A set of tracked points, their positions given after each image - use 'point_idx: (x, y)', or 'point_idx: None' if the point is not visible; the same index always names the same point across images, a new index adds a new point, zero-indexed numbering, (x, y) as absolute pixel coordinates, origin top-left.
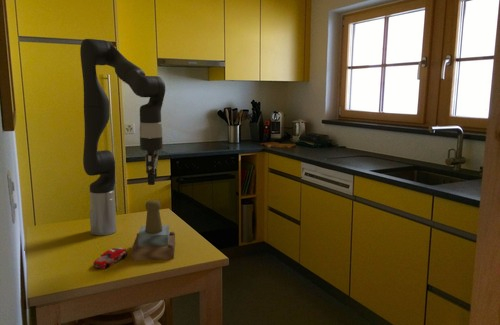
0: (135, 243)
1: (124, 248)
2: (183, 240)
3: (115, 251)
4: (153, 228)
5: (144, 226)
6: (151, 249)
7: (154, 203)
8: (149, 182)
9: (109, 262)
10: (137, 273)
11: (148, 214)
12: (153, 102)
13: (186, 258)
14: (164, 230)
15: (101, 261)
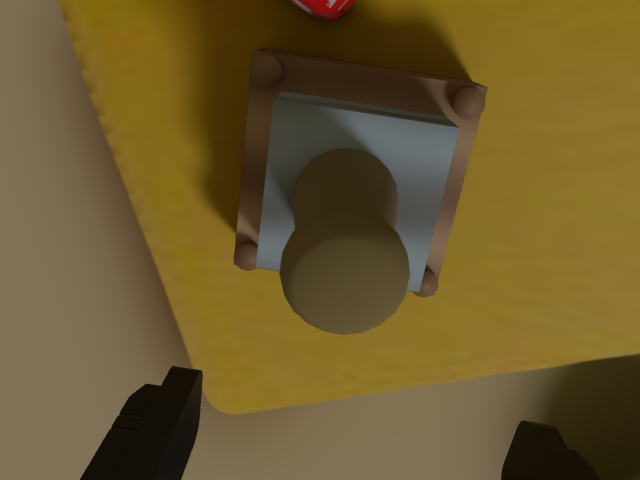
0: (340, 75)
1: (339, 6)
2: (451, 309)
3: None
4: (293, 205)
5: (446, 148)
6: (243, 158)
7: (292, 294)
8: (133, 401)
9: None
10: (108, 72)
11: (315, 208)
12: None
13: (234, 291)
14: None
15: None
